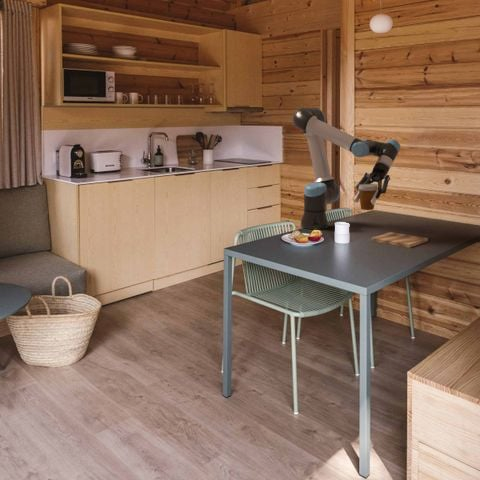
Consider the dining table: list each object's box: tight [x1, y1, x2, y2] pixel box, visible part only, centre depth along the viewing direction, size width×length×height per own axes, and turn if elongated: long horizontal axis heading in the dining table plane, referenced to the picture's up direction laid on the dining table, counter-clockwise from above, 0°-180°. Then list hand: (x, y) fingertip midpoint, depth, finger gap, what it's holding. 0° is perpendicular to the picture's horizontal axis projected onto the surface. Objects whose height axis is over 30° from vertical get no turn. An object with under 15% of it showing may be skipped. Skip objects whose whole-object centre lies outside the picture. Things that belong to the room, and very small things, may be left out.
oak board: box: [370, 232, 429, 249], centre depth 267 cm, size 20×18×2 cm
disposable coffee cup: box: [358, 183, 378, 211], centre depth 276 cm, size 10×10×12 cm
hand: (363, 202), depth 274 cm, fingers closed on disposable coffee cup, 9 cm apart
